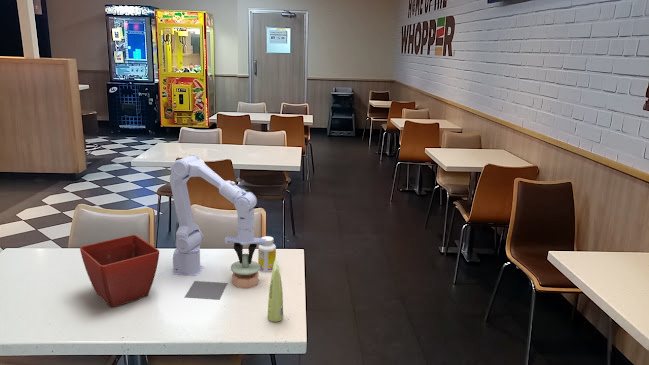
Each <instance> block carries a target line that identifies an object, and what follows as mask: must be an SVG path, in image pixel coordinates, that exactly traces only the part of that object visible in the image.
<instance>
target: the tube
mask: <svg viewBox="0 0 649 365" xmlns="http://www.w3.org/2000/svg"><path fill="white" fill-rule="evenodd" d="M281 276H282V275H281V272H280V267H279V264H278V259H277V256H276V257H275V261H274V265H273V270H272V271H271V276H270V283H269V290H268V300H267V319H268V320H269V321H271V322H272V323H274V322H275V323H276V322H280V321H282V320H283V318H284V296H283V295H284V293H283V284H282V277H281Z"/></svg>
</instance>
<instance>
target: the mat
mask: <svg viewBox="0 0 649 365" xmlns="http://www.w3.org/2000/svg"><path fill="white" fill-rule="evenodd" d="M193 281H194V282H193V283H192V285H190V288H189V289H188V291H187V292H186V294H185V295H184V298H187V299H202V300H213V301H214V300H215V301H218V300H219V301H220V300H221V298H222V296H223V293H224V291H225V289H226V287H227V285H228V282H218V281H217V282H215V281H204V280H203V281H202V280H193Z"/></svg>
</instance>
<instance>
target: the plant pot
mask: <svg viewBox="0 0 649 365" xmlns="http://www.w3.org/2000/svg"><path fill="white" fill-rule="evenodd" d="M79 252H80V255H81V258H82V262H83V264H84V268H85V271H86V274H87V276H88V278H89V281H90V282H91V286H92V287H93V289H94V292H95V293H96V295H97V296H99V297H100V299H102V301H103V302H104V303H105V304H106V305H107V306H108V307H110V308H114V307H117V306H121V305H123V304H127V303H131V302H134V301H136V300H137V301H138V300H139V299H142V298H144V297H147V296H148V295H149V294H150V292H151V288H152V285H153V283H154V280H155V277H156V272H157V269H158V264H159V257H160V250H159V249H158V248H156V247H154V246H153V245H152V244H151V243H148V241H146V240H145V239H143V238H142V237H140V236H138V235H137V234H131V235H127V236H123V237H118V238H114V239H108V240H105V241H100V242H95V243H92V244H87V245H86V244H85V245H82V246H80V247H79Z"/></svg>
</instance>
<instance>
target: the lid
mask: <svg viewBox="0 0 649 365" xmlns="http://www.w3.org/2000/svg"><path fill="white" fill-rule="evenodd" d="M230 271H231V273H233V272H234V273H236V274H241V275H249V274H254V273H256V272H259V271H260V265H259V264H258V261H257V262H256V261H254V260H252V262H251V264H249V253H243V254H242V264H241V263H240V262H239V260H238V261H236V262H234V263H232V264H230Z"/></svg>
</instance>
